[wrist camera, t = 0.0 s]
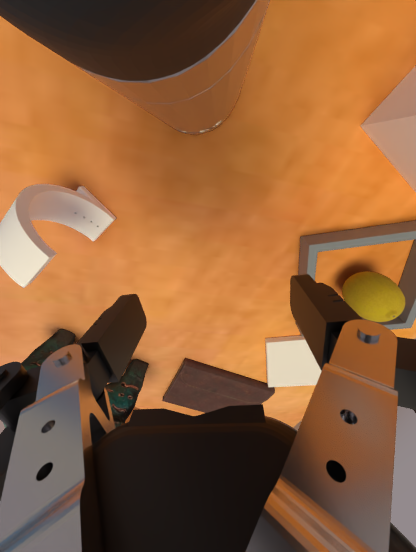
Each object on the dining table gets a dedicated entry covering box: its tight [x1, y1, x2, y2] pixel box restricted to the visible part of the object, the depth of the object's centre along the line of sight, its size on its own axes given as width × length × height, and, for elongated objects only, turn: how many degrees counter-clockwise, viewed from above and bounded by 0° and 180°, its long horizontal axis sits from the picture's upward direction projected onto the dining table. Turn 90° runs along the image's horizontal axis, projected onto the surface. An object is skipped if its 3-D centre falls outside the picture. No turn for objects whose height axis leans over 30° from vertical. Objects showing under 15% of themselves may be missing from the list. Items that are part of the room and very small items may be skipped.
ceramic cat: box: [4, 329, 149, 428], centre depth 31 cm, size 20×6×20 cm, turn 57°
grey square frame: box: [296, 220, 416, 337], centre depth 28 cm, size 15×15×3 cm
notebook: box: [163, 358, 275, 413], centre depth 44 cm, size 15×20×2 cm
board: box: [265, 335, 322, 387], centre depth 38 cm, size 13×13×1 cm
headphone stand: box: [0, 184, 116, 288], centre depth 21 cm, size 5×6×12 cm
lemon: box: [342, 271, 405, 322], centre depth 26 cm, size 6×6×8 cm
